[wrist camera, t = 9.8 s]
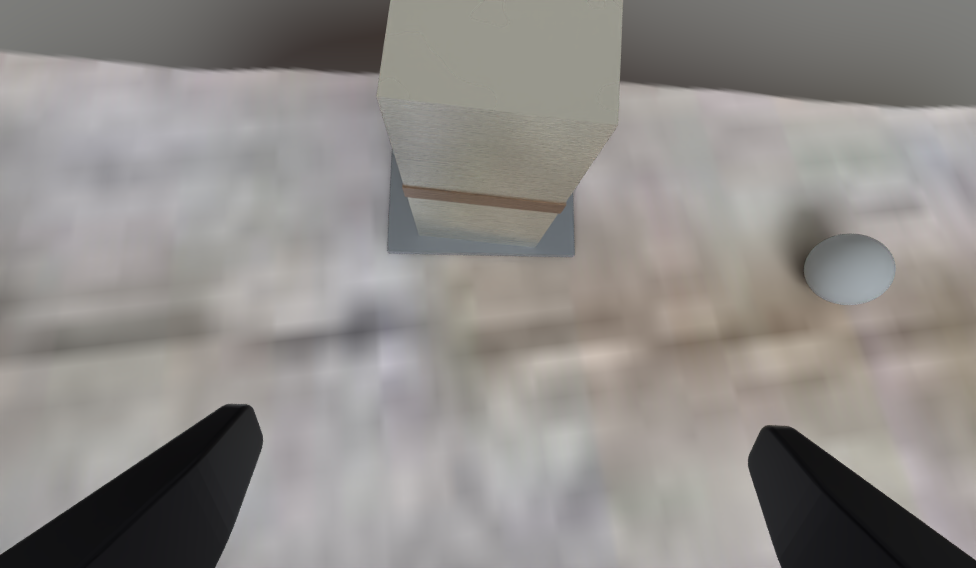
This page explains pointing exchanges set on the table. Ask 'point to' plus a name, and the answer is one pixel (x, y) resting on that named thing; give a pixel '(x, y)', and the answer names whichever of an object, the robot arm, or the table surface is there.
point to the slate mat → (410, 242)
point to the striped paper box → (497, 109)
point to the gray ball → (849, 269)
